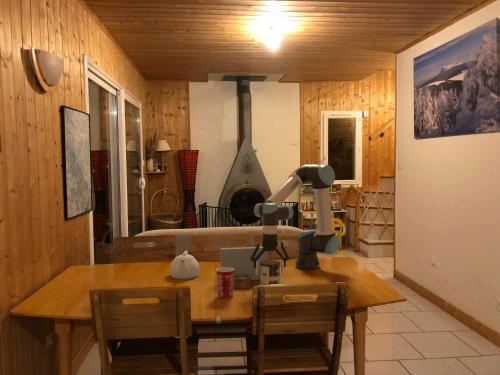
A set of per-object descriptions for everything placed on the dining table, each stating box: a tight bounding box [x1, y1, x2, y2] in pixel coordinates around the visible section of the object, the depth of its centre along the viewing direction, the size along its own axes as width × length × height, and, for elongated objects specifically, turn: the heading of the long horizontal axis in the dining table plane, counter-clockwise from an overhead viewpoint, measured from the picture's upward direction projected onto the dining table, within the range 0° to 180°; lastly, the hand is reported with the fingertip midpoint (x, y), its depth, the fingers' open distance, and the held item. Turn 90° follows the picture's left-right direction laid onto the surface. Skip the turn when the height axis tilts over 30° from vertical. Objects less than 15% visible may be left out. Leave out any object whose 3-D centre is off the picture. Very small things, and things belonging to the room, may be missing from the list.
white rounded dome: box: [169, 250, 200, 280], centre depth 251 cm, size 19×18×14 cm
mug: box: [215, 267, 234, 299], centre depth 211 cm, size 13×9×14 cm
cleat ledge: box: [233, 275, 253, 289], centre depth 233 cm, size 14×14×5 cm
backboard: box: [220, 246, 268, 281], centre depth 242 cm, size 26×2×18 cm, turn 98°
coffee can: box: [259, 259, 281, 285], centre depth 225 cm, size 10×10×14 cm
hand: (269, 273), depth 224 cm, fingers open, 13 cm apart
